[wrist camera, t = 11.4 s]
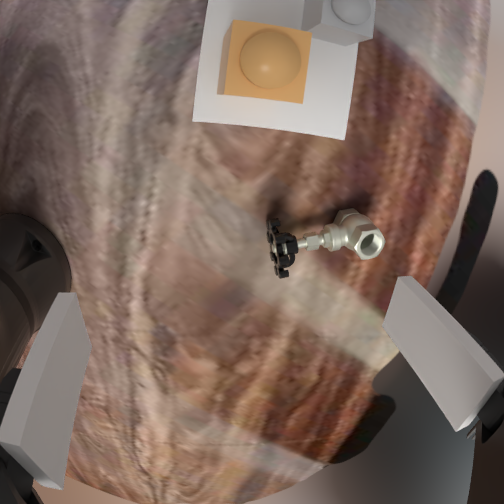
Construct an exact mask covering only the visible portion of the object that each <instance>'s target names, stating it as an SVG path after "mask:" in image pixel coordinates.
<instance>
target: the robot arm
mask: <svg viewBox="0 0 504 504" xmlns="http://www.w3.org/2000/svg"><path fill="white" fill-rule="evenodd" d="M70 288H71V273H70V268H69V264H68V261H67V258H66V256H65V253H64V251H63V249H62V248H61V246H60V244H59V243H58V241H57V240H56V239H55V237H54V236H53V235H52V234H51V233H50V232H49V231H48V230H47V229H46V228H45V227H44V226H43V225H41V224H40V223H39V222H37V221H35V220H34V219H32V218H30V217H27V216H25V215H21V214H14V213H10V214H4V215H1V216H0V504H44V503H43V502H42V500H41V499H40V497H39V496H38V494H37V492H36V490H35V489H34V488H33V487H32V485H33V479H35V480H36V481H37V482H38V483H40V484H41V485H42V486H46V487H50V488H55V489H60V490H63V487H64V478H65V471H66V464H67V458H68V452H69V446H70V440H71V434H72V429H73V424H74V419H75V414H76V409H77V405H78V400H79V396H80V392H81V387H82V383H83V379H84V375H85V371H86V367H87V364H88V360H89V356H90V353H91V349H92V345H91V342H90V339H89V336H88V333H87V330H86V326H85V323H84V320H83V316H82V313H81V309H80V306H79V302H78V298H77V295H76V293H70ZM382 327H383V328H384V330H385V331H386V332H387V334H388V335H389V336H390V338H391V339H392V341H393V342H394V343H395V345H396V346H397V347H398V349H399V350H400V351H401V353H402V354H403V356H404V357H405V358H406V360H407V361H408V363H409V364H410V365H411V367H412V368H413V370H414V371H415V372H416V374H417V375H418V376H419V378H420V379H421V381H422V382H423V384H424V385H425V386H426V388H427V389H428V391H429V392H430V394H431V395H432V397H433V398H434V399H435V401H436V402H437V404H438V406H439V407H440V409H441V410H442V412H443V413H444V414H445V416H446V417H447V419H448V420H449V422H450V423H451V425H452V427H453V428H454V430H455V431H458V430H460V429H462V428H464V427H466V426H468V425H469V424H470V423H471V422H472V420H473V419H474V418H475V417H476V416H477V415H478V417H479V418H480V420H479V421H478V422H477V423H476V425H475V426H474V427H473V428H472V429H471V430H470V432H469V433H468V434H467V438H469V437H470V436H471V435H472V434H473V433H474V432H475V431H476V434H475V435H474V436H473V437H472V439H474V440H475V449H474V460H473V469H472V476H471V483H470V490H469V496H468V501H467V504H504V367H503V366H502V365H501V364H500V363H499V362H498V361H497V359H496V358H495V357H494V356H493V355H492V354H491V353H489V350H488V349H487V348H486V347H485V346H483V344H482V343H481V342H480V341H479V339H478V338H477V337H476V336H474V335H473V334H471V333H470V332H468V331H467V330H465V329H464V328H463V327H462V326H461V325H460V324H459V323H458V322H457V321H456V320H455V319H454V318H453V317H452V316H451V315H450V314H449V313H448V312H447V311H446V310H445V309H444V308H443V307H442V306H441V305H440V304H439V303H438V302H437V301H436V300H435V299H434V298H433V297H432V296H431V295H430V294H429V293H428V292H427V291H426V290H425V289H424V288H423V287H422V286H421V285H420V284H419V283H418V282H417V281H416V280H415V279H414V278H413V277H412V276H403V277H398V279H397V282H396V285H395V289H394V292H393V295H392V298H391V301H390V304H389V307H388V310H387V313H386V316H385V319H384V322H383V325H382ZM39 329H40V330H39ZM37 330H39V332H38V334H37V336H36V338H35V341H34V343H33V345H32V347H31V349H30V352H29V354H28V356H27V358H26V361H25V363H24V365H23V368H22V369H17V368H16V367H17V365H18V363H19V361H20V358H21V356H22V354H23V352H24V350H25V348H26V346H27V344H28V342H29V340H30V338H31V336H32V335H33V333H35V332H36V331H37Z"/></svg>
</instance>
